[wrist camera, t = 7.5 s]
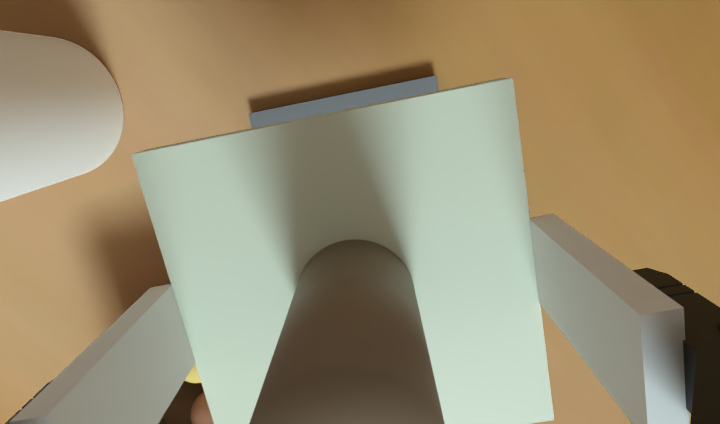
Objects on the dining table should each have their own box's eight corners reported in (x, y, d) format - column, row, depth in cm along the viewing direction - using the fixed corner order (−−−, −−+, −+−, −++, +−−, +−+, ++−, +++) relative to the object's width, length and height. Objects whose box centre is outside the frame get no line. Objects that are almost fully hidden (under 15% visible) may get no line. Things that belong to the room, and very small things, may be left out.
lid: (148, 148, 16) (-68, 217, 8) (501, 78, 15) (646, 75, 7) (237, 447, 19) (140, 719, 11) (542, 397, 18) (680, 649, 10)
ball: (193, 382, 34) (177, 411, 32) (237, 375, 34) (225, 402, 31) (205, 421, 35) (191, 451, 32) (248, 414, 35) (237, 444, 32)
